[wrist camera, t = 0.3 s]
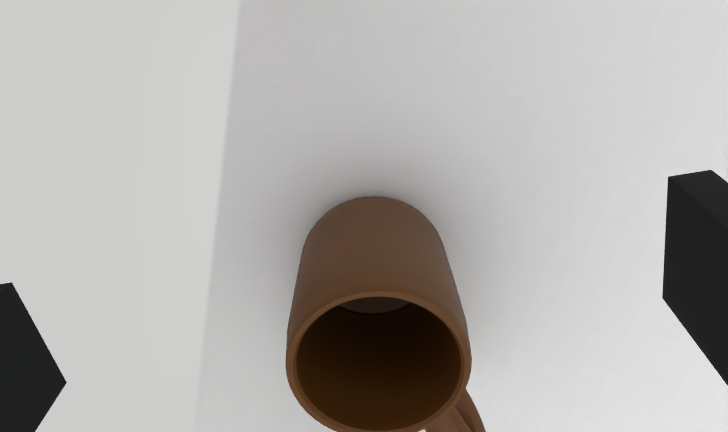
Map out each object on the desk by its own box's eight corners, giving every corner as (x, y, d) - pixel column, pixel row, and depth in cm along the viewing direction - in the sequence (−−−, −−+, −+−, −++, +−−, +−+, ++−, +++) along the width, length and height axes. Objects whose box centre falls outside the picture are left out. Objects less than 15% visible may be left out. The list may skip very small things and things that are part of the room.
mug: (512, 323, 34) (565, 451, 25) (402, 387, 36) (417, 527, 27) (389, 162, 30) (402, 249, 21) (272, 243, 32) (240, 354, 23)
